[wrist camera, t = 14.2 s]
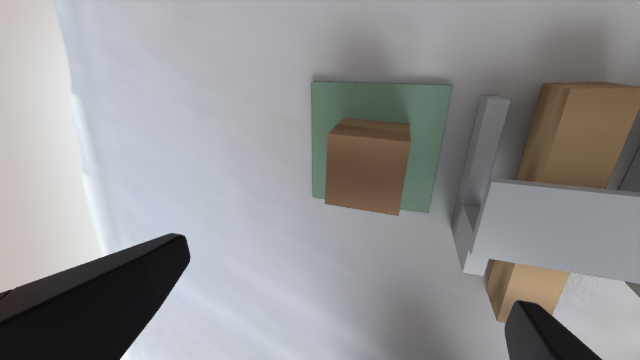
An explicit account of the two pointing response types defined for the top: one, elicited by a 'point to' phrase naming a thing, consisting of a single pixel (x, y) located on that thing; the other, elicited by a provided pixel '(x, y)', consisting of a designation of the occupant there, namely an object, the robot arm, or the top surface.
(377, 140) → the block
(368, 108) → the coaster
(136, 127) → the top surface
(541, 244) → the tunnel
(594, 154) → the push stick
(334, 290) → the top surface
